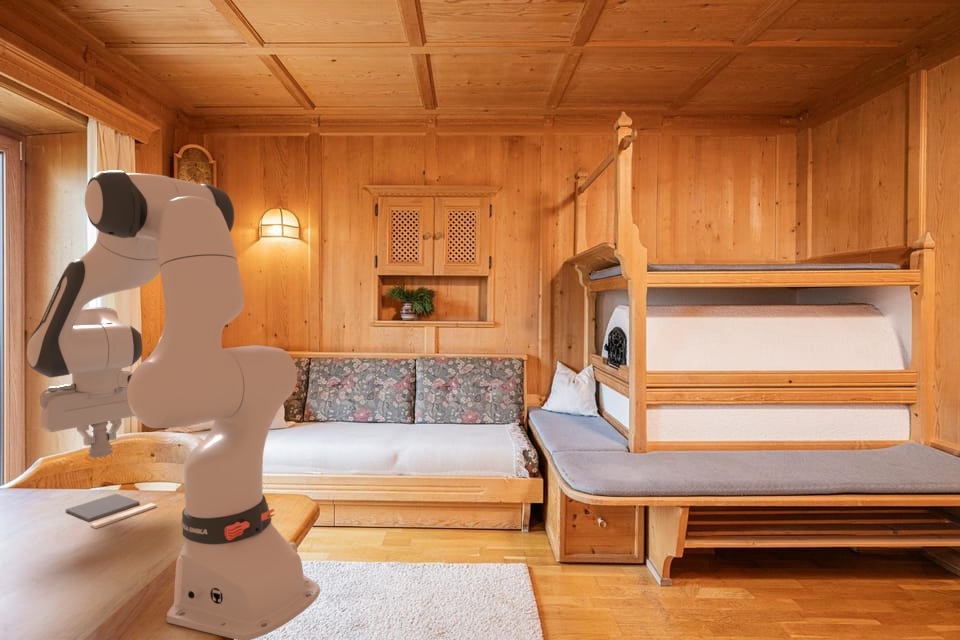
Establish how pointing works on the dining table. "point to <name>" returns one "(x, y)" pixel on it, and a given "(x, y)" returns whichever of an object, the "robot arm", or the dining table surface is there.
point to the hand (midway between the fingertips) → (100, 442)
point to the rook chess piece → (100, 441)
